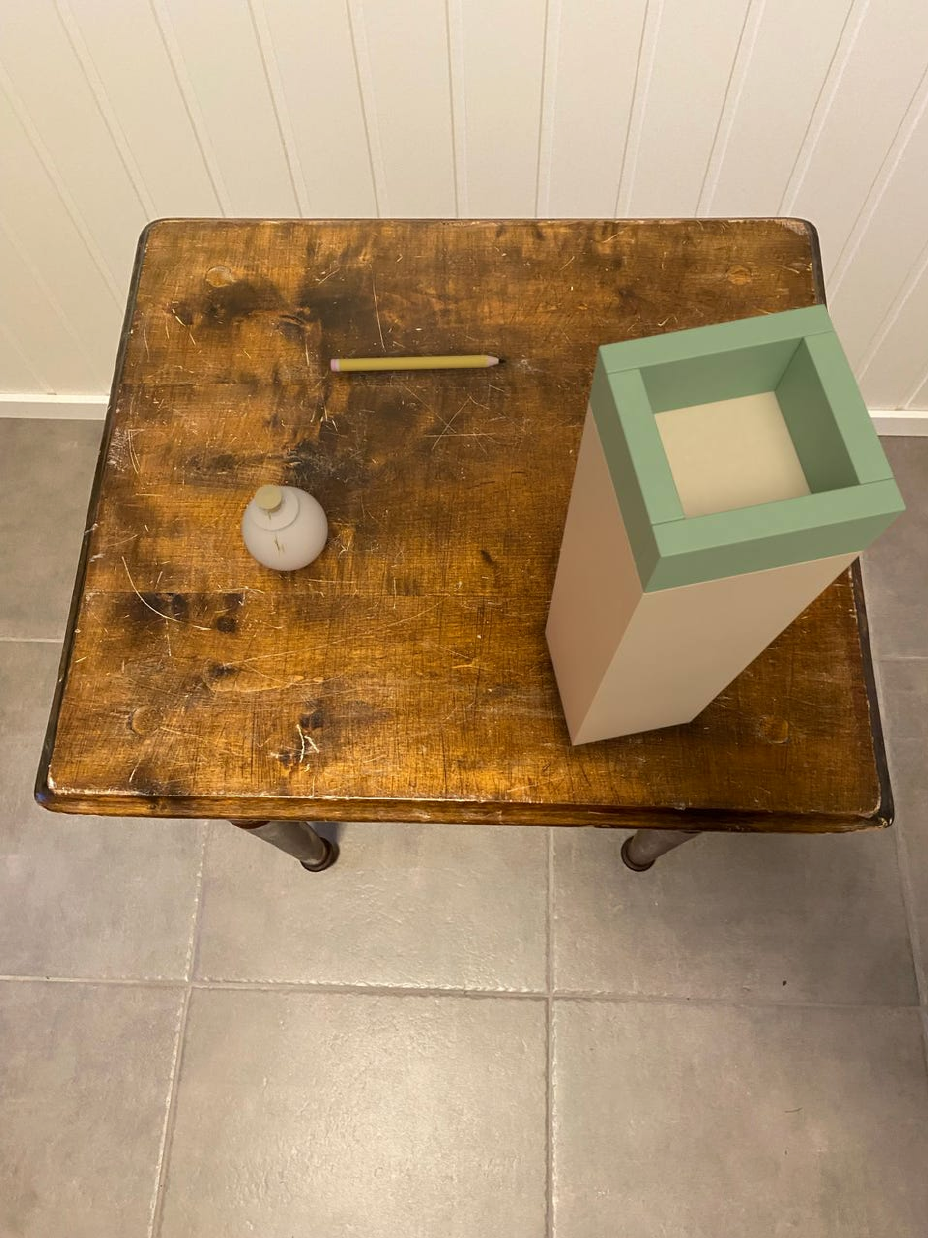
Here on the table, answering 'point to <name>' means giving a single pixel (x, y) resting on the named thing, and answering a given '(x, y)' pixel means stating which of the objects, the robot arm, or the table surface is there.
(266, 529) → the ornament
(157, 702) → the table surface
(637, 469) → the holder
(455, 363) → the pencil
